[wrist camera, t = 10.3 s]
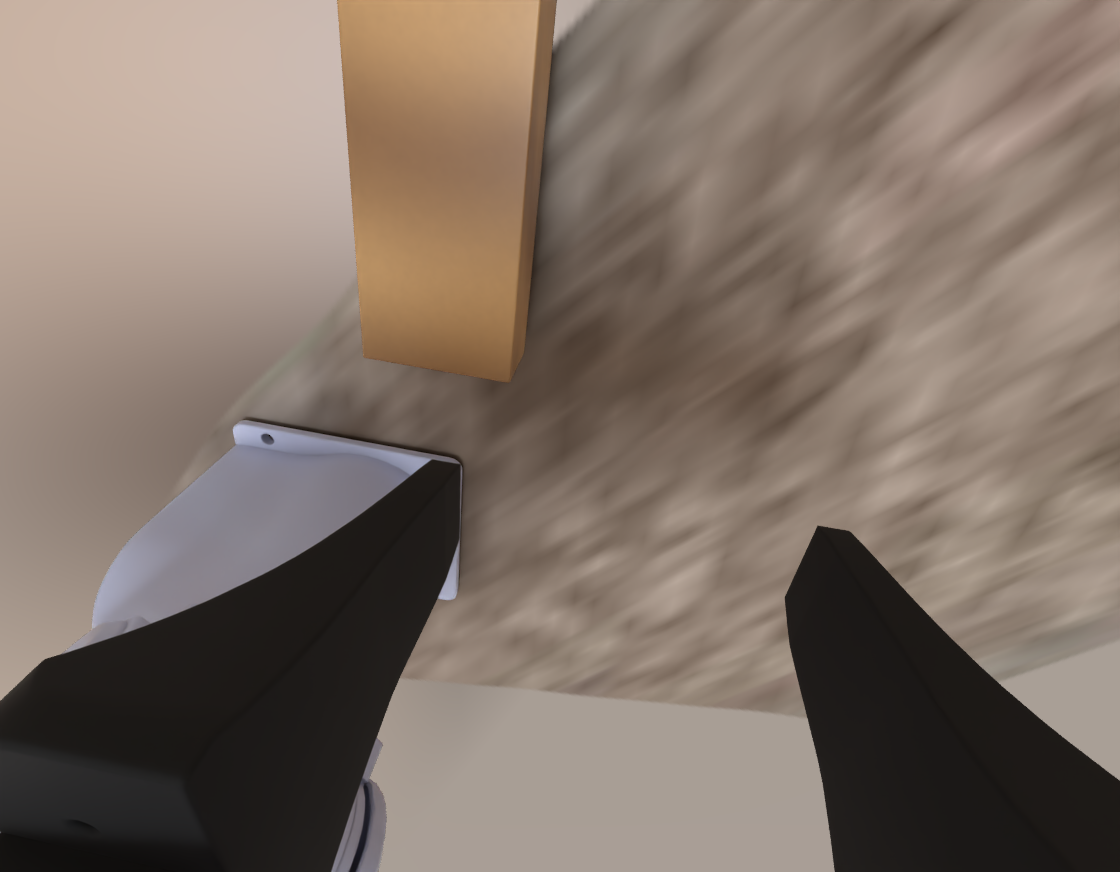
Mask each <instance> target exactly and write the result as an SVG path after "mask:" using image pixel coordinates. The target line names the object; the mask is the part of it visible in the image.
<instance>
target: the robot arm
mask: <svg viewBox="0 0 1120 872" xmlns="http://www.w3.org/2000/svg"><path fill="white" fill-rule="evenodd" d="M233 434H234V439H235V443H236V445H235V446H234V447H233V448H231V449H230V450H229V451H228V452H227V453H226V454H225V455H224V456H222V457H221V458H220V459H219V460H218V461H217V462H216V463H214V464H213V465H212V466H211V467H210V468H209V469H208V470H206V471H205V472H204V473H203V474H202V475H201V476H200V477H198V478H197V479H196V480H195V481H194V482H193V483H192V484H190V485H189V486H188V487H187V488H186V489H185V490H184V491H183V492H181V493H180V494H179V495H178V496H177V497H176V498H175V499H173V500H172V501H171V502H170V503H169V504H168V505H167V506H165V507H164V508H163V509H162V510H161V511H160V512H159V513H157V514H156V515H155V516H154V517H153V518H152V519H151V520H150V521H148V522H147V523H146V524H145V525H144V526H143V527H142V528H140V529H139V530H138V531H137V532H136V533H135V534H134V535H133V536H132V537H131V539H129V541H128V542H127V543H126V544H125V546H124V547H123V548H122V549H121V551H120V552H119V554H118V555H117V557H116V558H115V560H114V561H113V563H112V564H111V567H110V568H109V570H108V572H107V574H106V576H105V578H104V580H103V582H102V584H101V586H100V588H99V591H98V594H97V597H96V601H95V605H94V609H93V619H92V630H90V631H89V632H88V633H86V634H85V635H84V636H82V637H81V638H80V639H79V640H78V641H76V642H75V643H74V644H73V645H72V646H70V647H69V648H68V649H67V650H65V651H64V652H63V653H62V654H60V655H57V656H54V657H51V658H47V659H45V660H44V661H42V662H41V663H40V664H39V665H38V666H37V667H36V668H34V669H33V670H32V671H31V672H30V673H29V674H28V675H27V676H26V677H25V678H24V679H23V680H22V681H21V682H20V683H19V684H18V685H17V686H16V687H15V688H13V690H11V691H10V692H9V693H8V694H7V695H6V696H5V697H4V698H3V699H2V700H1V701H0V872H379V868H380V863H381V858H382V851H383V845H384V839H385V831H386V818H387V817H386V803H385V800H384V796H383V793H382V792H381V790H380V788H379V787H378V786H377V784H376V783H375V782H373V781H372V780H371V779H369V778H370V776H371V773H372V771H373V768H374V766H375V763H376V761H377V758H378V756H379V754H380V751H381V749H382V746H383V744H382V742H381V741H380V740H378V739H377V735H378V732H379V729H380V727H381V724H382V721H383V718H384V716H385V713H386V710H387V708H388V705H389V702H390V699H391V696H392V694H393V692H394V690H395V687H396V685H397V683H398V680H399V678H400V676H401V674H402V672H403V669H404V667H405V665H406V663H407V661H408V659H409V657H410V655H411V653H412V651H413V649H414V647H415V644H416V642H417V640H418V638H419V636H420V634H421V632H422V630H423V628H424V626H425V624H426V622H427V619H428V617H429V615H430V613H431V611H432V609H433V607H434V605H435V603H436V601H437V598H438V599H443V600H452V599H454V598H455V597H456V595H457V592H458V584H459V554H460V525H461V496H462V466H461V464H460V463H459V462H458V461H457V460H456V459H453V458H450V457H445V456H439V455H434V454H429V453H423V452H418V451H412V450H407V449H401V448H396V447H390V446H385V445H380V444H374V443H369V442H363V441H358V440H352V439H347V438H341V437H336V436H331V435H325V434H320V433H314V432H309V431H303V430H298V429H292V428H287V427H282V426H276V425H271V424H265V423H260V422H254V421H249V420H242V421H240V422H238V423H237V424H236V425H235V426H234V428H233ZM267 434H268V435H270V436H271V437H273V439H271V438H270V437H269V436H268V435H267ZM785 605H786V616H787V626H788V635H789V643H790V648H791V653H792V657H793V661H794V665H795V670H796V674H797V678H798V682H799V686H800V690H801V694H802V698H803V702H804V706H805V710H806V714H807V718H808V722H809V726H810V730H811V734H812V738H813V742H814V746H815V749H816V754H817V758H818V763H819V768H820V773H821V777H822V782H823V788H824V795H825V802H826V809H827V816H828V823H829V830H830V837H831V845H832V853H833V861H834V869H835V872H1120V781H1119V780H1118V779H1117V778H1115V777H1114V776H1112V775H1111V774H1110V773H1109V772H1107V771H1106V770H1105V769H1104V768H1102V767H1101V766H1100V765H1098V764H1097V763H1096V762H1094V761H1093V760H1092V759H1090V758H1089V757H1088V756H1086V755H1085V754H1084V753H1083V752H1081V751H1080V750H1079V749H1077V748H1076V747H1075V746H1073V745H1072V744H1071V743H1070V742H1068V741H1067V740H1066V739H1064V738H1063V737H1062V736H1061V735H1059V734H1058V733H1057V732H1056V731H1054V730H1053V729H1052V728H1051V727H1049V726H1048V725H1047V724H1046V723H1045V722H1043V721H1042V720H1041V719H1040V718H1038V717H1037V716H1036V715H1035V714H1034V713H1033V712H1031V711H1030V710H1029V709H1028V708H1027V707H1026V706H1024V705H1023V704H1022V703H1021V702H1020V701H1018V700H1017V699H1016V698H1015V697H1014V696H1013V695H1012V694H1010V693H1009V692H1008V691H1007V690H1006V689H1005V688H1003V687H1002V686H1001V685H1000V684H999V683H998V682H997V681H996V680H995V679H993V678H992V677H991V676H990V675H989V674H988V673H987V672H986V671H985V670H984V669H982V668H981V667H980V666H979V665H978V664H977V663H976V662H975V661H974V660H973V659H972V658H971V657H970V656H969V655H968V654H967V653H966V652H965V651H964V650H963V649H962V648H961V647H960V646H959V645H957V644H956V643H955V642H954V641H953V640H952V639H951V638H950V637H949V636H948V635H947V634H946V633H945V632H944V631H943V630H942V629H941V628H940V627H939V626H938V625H937V624H936V623H935V622H934V621H933V619H932V618H931V617H930V616H929V615H928V614H927V613H926V612H925V611H924V610H923V609H922V608H921V607H920V606H919V605H918V604H917V603H916V602H915V601H914V600H913V598H912V597H911V596H910V595H909V594H908V593H907V592H906V591H905V590H904V589H903V588H902V587H901V586H900V584H899V583H898V582H897V581H896V580H895V579H894V578H893V577H892V576H891V575H890V574H889V572H888V571H887V570H886V569H885V568H884V567H883V566H882V565H881V564H880V563H879V562H878V560H877V559H876V558H875V557H874V556H873V555H872V554H871V553H870V552H869V551H868V550H867V549H866V547H865V546H864V545H863V544H862V543H861V542H860V541H859V540H858V539H857V538H856V537H855V536H854V535H853V534H852V533H851V532H850V531H846V530H840V529H834V528H828V527H823V526H817V528H816V531H815V533H814V535H813V537H812V539H811V541H810V544H809V546H808V548H807V550H806V552H805V555H804V557H803V559H802V561H801V563H800V565H799V568H798V570H797V572H796V574H795V576H794V578H793V581H792V583H791V585H790V587H789V589H788V591H787V594H786V596H785Z"/></svg>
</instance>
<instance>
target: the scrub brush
mask: <svg viewBox="0 0 1120 872" xmlns="http://www.w3.org/2000/svg"><path fill="white" fill-rule="evenodd" d="M556 3H557V0H337V4H338V17H339V30H340V45H341V58H342V71H343V86H344V99H345V113H346V125H347V126H346V127H347V140H348V154H349V167H350V179H351V180H350V181H351V194H352V208H353V222H354V235H355V249H356V263H357V277H358V290H359V304H360V317H361V331H362V345H363V357H364V358H369V359H375V360H381V361H386V362H392V363H398V364H403V365H409V366H415V367H421V368H426V369H432V370H438V371H444V372H449V373H455V374H461V375H467V376H472V377H478V378H484V379H489V380H495V381H501V382H507V383H509V382H510V381H511V379H512V377H513V375H514V373H515V371H516V369H517V366H518V364H519V362H520V360H521V358H522V356H523V354H524V349H525V338H526V327H527V316H528V305H529V295H530V284H531V273H532V262H533V251H534V240H535V230H536V219H537V208H538V197H539V186H540V176H541V165H542V154H543V143H544V132H545V121H546V111H547V100H548V89H549V78H550V67H551V57H552V46H553V35H554V24H555V12H556Z"/></svg>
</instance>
